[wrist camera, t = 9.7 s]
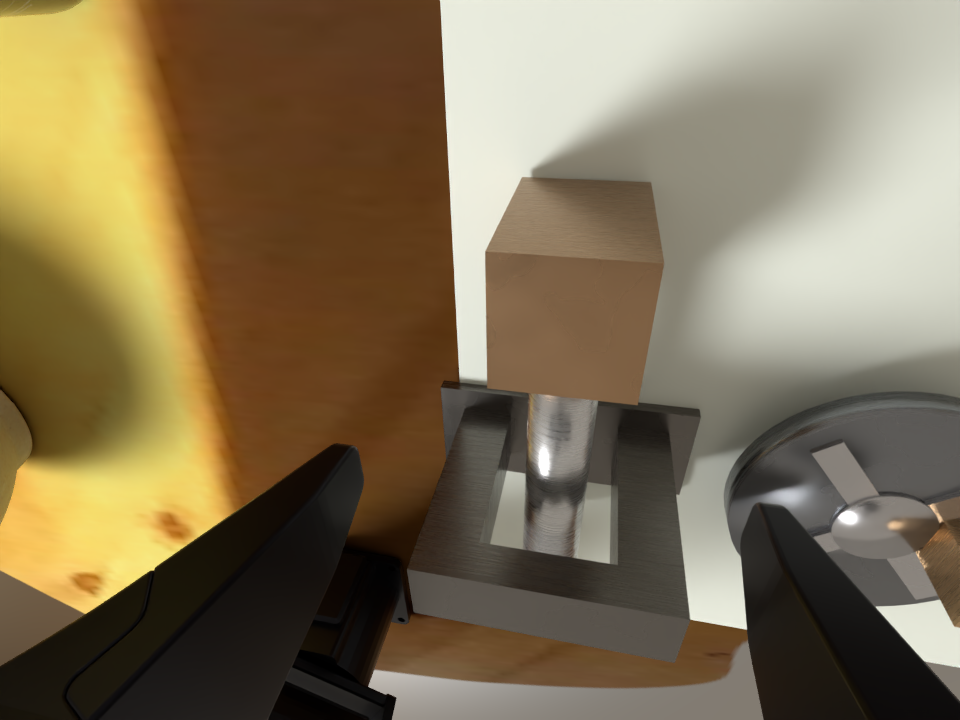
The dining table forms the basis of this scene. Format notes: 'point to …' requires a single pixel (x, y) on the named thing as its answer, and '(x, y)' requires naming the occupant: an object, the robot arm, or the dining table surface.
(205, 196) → the dining table surface
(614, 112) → the white board
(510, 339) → the wooden mallet
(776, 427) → the handwheel
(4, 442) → the planter bowl
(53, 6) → the supplement bottle
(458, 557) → the iron eye
